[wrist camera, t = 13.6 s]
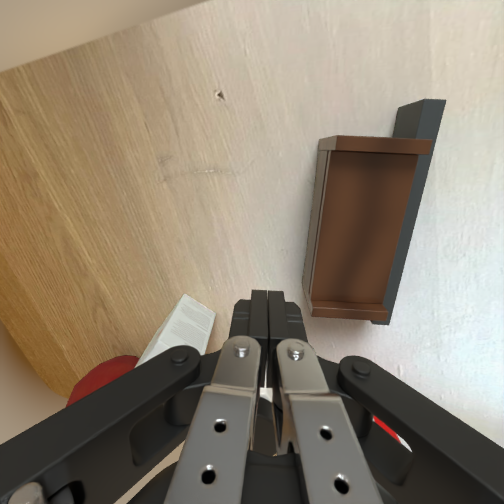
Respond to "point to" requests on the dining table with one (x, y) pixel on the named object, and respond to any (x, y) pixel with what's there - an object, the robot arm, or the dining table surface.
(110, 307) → the dining table surface
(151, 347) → the small box
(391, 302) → the backboard
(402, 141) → the storage chest
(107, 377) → the apple
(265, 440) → the jar
